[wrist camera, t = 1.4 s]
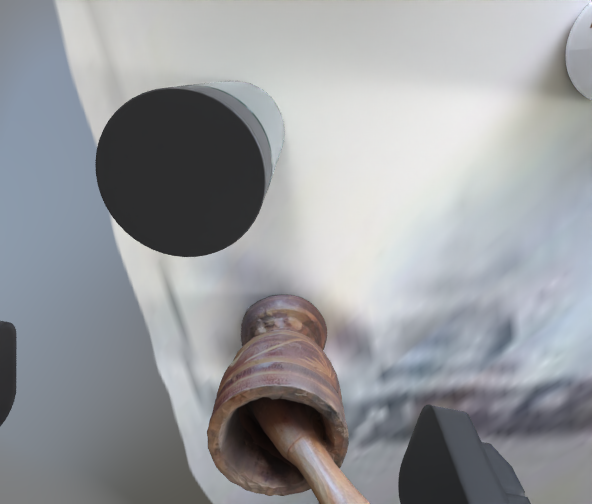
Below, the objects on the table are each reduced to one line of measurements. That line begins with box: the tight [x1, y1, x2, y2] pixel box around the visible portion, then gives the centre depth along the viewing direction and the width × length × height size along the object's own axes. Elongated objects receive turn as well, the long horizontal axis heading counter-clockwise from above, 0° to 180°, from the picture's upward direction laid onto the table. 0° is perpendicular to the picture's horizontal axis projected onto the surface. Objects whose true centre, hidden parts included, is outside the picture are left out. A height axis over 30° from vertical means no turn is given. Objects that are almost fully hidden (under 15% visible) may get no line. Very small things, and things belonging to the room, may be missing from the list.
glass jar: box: [185, 81, 285, 193], centre depth 27 cm, size 7×7×16 cm
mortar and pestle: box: [207, 295, 370, 504], centre depth 31 cm, size 12×9×20 cm
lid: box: [96, 86, 272, 257], centre depth 21 cm, size 7×7×3 cm
